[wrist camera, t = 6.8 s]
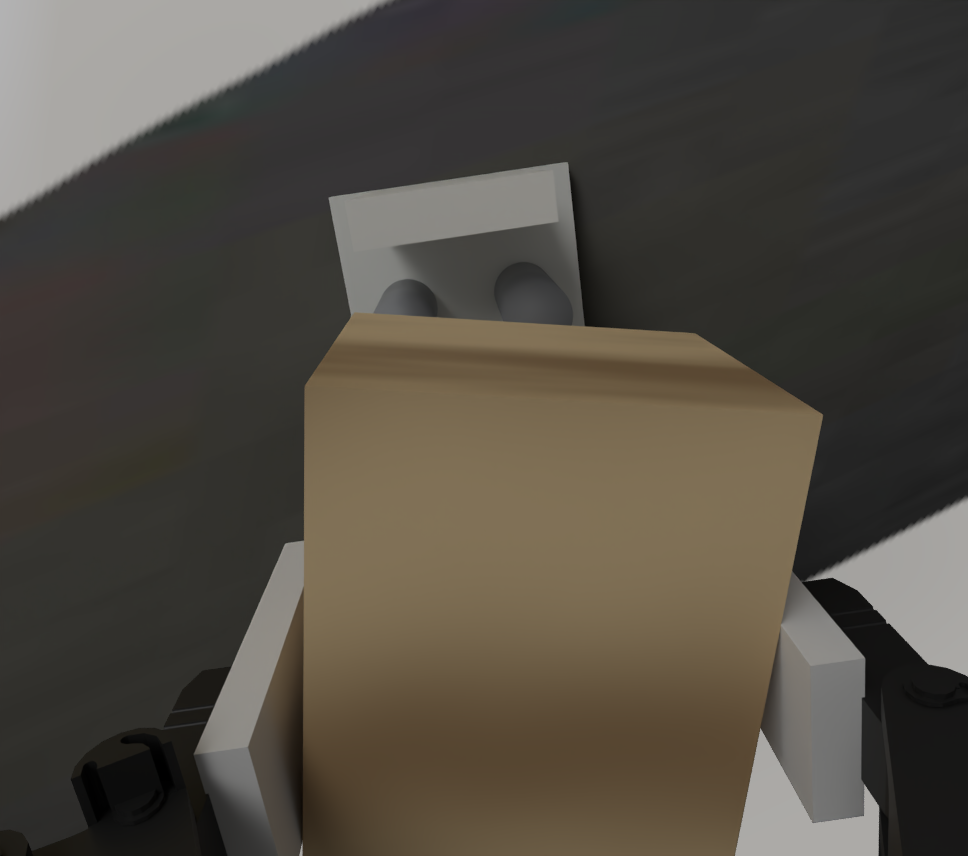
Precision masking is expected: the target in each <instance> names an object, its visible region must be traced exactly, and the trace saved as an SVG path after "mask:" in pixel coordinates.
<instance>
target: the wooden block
mask: <svg viewBox="0 0 968 856" xmlns="http://www.w3.org/2000/svg"><path fill="white" fill-rule="evenodd" d="M822 418H823V415H822V414H821V413H819V412H818V411H816V410H815V409H813V408H811V407H810V406H808V405H807V404H805V403H804V402H802V401H800V400H799V399H797V398H796V397H794V396H793V395H791V394H789V393H788V392H786V391H785V390H783V389H782V388H780V387H778V386H777V385H775V384H774V383H772V382H771V381H769V380H767V379H766V378H764V377H763V376H761V375H760V374H758V373H756V372H755V371H753V370H752V369H750V368H749V367H747V366H745V365H744V364H742V363H741V362H739V361H738V360H736V359H734V358H733V357H731V356H730V355H728V354H727V353H725V352H723V351H722V350H720V349H719V348H717V347H716V346H714V345H712V344H711V343H709V342H708V341H706V340H705V339H703V338H701V337H700V336H698V335H697V334H695V333H682V332H665V331H649V330H633V329H617V328H601V327H585V326H568V325H552V324H536V323H520V322H504V321H488V320H472V319H455V318H439V317H423V316H407V315H391V314H375V313H358V312H354V314H353V315H352V317H351V318H350V320H349V321H348V323H347V324H346V326H345V327H344V329H343V330H342V332H341V333H340V335H339V336H338V338H337V339H336V340H335V342H334V343H333V345H332V346H331V348H330V349H329V351H328V352H327V354H326V355H325V357H324V358H323V360H322V361H321V363H320V364H319V366H318V367H317V369H316V370H315V372H314V373H313V375H312V376H311V377H310V379H309V380H308V382H307V383H306V385H305V453H304V666H303V856H735V851H736V847H737V841H738V837H739V831H740V827H741V822H742V817H743V812H744V807H745V802H746V797H747V792H748V787H749V782H750V777H751V772H752V767H753V762H754V757H755V752H756V747H757V742H758V737H759V732H760V727H761V722H762V717H763V712H764V707H765V702H766V697H767V692H768V687H769V682H770V677H771V672H772V667H773V662H774V657H775V652H776V647H777V642H778V637H779V632H780V627H781V625H780V624H781V622H782V617H783V612H784V607H785V602H786V597H787V592H788V587H789V583H790V578H791V573H792V568H793V563H794V558H795V553H796V548H797V543H798V538H799V533H800V528H801V523H802V518H803V513H804V508H805V503H806V498H807V493H808V488H809V483H810V478H811V473H812V468H813V463H814V458H815V453H816V448H817V443H818V438H819V433H820V428H821V423H822Z"/></svg>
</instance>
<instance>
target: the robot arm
mask: <svg viewBox="0 0 968 856" xmlns="http://www.w3.org/2000/svg"><path fill="white" fill-rule="evenodd" d="M780 625H781V627H780V632H779V637H778V642H777V647H776V652H775V657H774V662H773V667H772V672H771V677H770V682H769V687H768V692H767V697H766V702H765V707H764V712H763V717H762V722H761V727H760V728H761V730H762V731H763V733H764V735H765V737H766V738H767V740H768V742H769V744H770V746H771V748H772V750H773V751H774V753H775V755H776V757H777V759H778V760H779V762H780V764H781V766H782V767H783V769H784V771H785V773H786V775H787V777H788V779H789V780H790V782H791V784H792V786H793V788H794V789H795V791H796V793H797V795H798V796H799V799H800V800H801V802H802V804H803V806H804V808H805V809H806V811H807V813H808V815H809V817H810V819H811V820H812V822H813V823H816V822H823V821H831V820H838V819H844V818H852V817H858V816H864V784H865V786H866V787H867V789H868V790H869V791H870V793H871V795H872V796H873V797H874V799H875V800H876V802H877V804H878V805H879V856H968V677H967V676H966V675H963V674H961V673H958V672H956V671H953V670H951V669H948V668H944V667H939V666H933V665H928V664H927V663H926V662H925V661H924V660H923V659H922V658H921V657H920V655H919V654H918V653H917V652H916V651H915V650H914V649H913V648H912V647H911V646H910V645H909V644H908V643H907V642H906V641H905V640H904V639H903V638H902V637H901V636H900V635H899V633H897V631H896V630H895V629H894V628H893V627H892V626H891V625H890V624H887V623H886V620H885V619H884V618H883V617H882V616H881V615H880V614H879V613H878V611H877V610H874V609H873V606H872V605H871V604H870V603H869V602H868V601H867V600H866V599H865V598H864V597H863V596H862V595H861V594H860V593H859V592H858V591H857V590H855V589H854V588H851V587H850V586H848V585H845V584H844V583H842V582H840V581H838V580H836V579H834V578H828V579H821V580H814V581H807V582H801V581H800V580H799V579H798V578H797V577H796V575H795V574H794V573H793V572H792V573H791V578H790V583H789V587H788V592H787V597H786V602H785V607H784V612H783V617H782V622H781V624H780ZM303 666H304V541H299V542H292V543H285V545H284V548H283V550H282V552H281V555H280V557H279V559H278V562H277V564H276V566H275V568H274V571H273V573H272V575H271V578H270V580H269V582H268V585H267V587H266V589H265V591H264V594H263V596H262V598H261V601H260V603H259V605H258V608H257V610H256V612H255V614H254V617H253V619H252V621H251V624H250V626H249V628H248V631H247V633H246V635H245V637H244V640H243V642H242V644H241V647H240V649H239V651H238V654H237V656H236V658H235V660H234V663H233V665H232V666H231V667H224V668H218V669H211V670H204V671H202V672H201V673H200V674H199V675H198V676H197V677H195V678H194V679H193V680H192V681H191V682H190V683H189V684H188V685H187V686H186V687H185V688H184V689H183V690H182V692H181V694H180V696H179V698H178V700H177V702H176V704H175V706H174V707H173V709H172V711H173V713H172V714H170V715H169V717H168V719H167V721H166V723H165V725H164V730H159V729H157V728H138V729H134V730H130V731H127V732H123V733H120V734H118V735H116V736H113V737H111V738H109V739H107V740H105V741H103V742H101V743H100V744H99V745H97V746H96V747H94V748H93V749H92V750H90V751H89V752H88V753H86V754H85V756H84V757H83V758H82V759H81V760H80V761H79V763H78V764H77V765H76V766H75V768H74V771H73V774H72V777H71V781H72V784H73V786H74V789H75V792H76V795H77V797H78V800H79V803H80V805H81V808H82V811H83V814H84V816H85V819H86V822H87V824H88V829H87V830H85V831H83V832H81V833H78V834H76V835H74V836H72V837H69V838H66V839H64V840H61V841H58V842H55V843H53V844H50V845H47V846H45V847H42V848H39V849H37V850H34V851H31V848H30V846H29V844H28V841H27V840H26V838H25V837H24V835H23V834H22V833H19V832H16V831H12V830H4V831H0V856H299V854H300V849H301V845H302V840H303Z"/></svg>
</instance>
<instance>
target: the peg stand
mask: <svg viewBox="0 0 968 856" xmlns="http://www.w3.org/2000/svg"><path fill="white" fill-rule="evenodd" d="M329 202H330V208H331V213H332V218H333V223H334V228H335V234H336V239H337V244H338V249H339V254H340V260H341V265H342V270H343V275H344V280H345V286H346V291H347V296H348V301H349V306H350V311H351V317H352V315H353V314H354V312H358V313H375V314H391V315H407V316H423V317H439V318H455V319H472V320H488V321H504V322H520V323H536V324H552V325H568V326H585V325H584V315H583V305H582V295H581V285H580V276H579V266H578V256H577V246H576V237H575V227H574V217H573V207H572V198H571V188H570V178H569V168H568V162H566V163H557V164H551V165H544V166H537V167H530V168H523V169H517V170H510V171H503V172H496V173H490V174H483V175H476V176H469V177H462V178H456V179H449V180H442V181H435V182H429V183H422V184H415V185H408V186H401V187H395V188H388V189H381V190H374V191H368V192H361V193H354V194H347V195H340V196H334V197H329Z"/></svg>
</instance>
